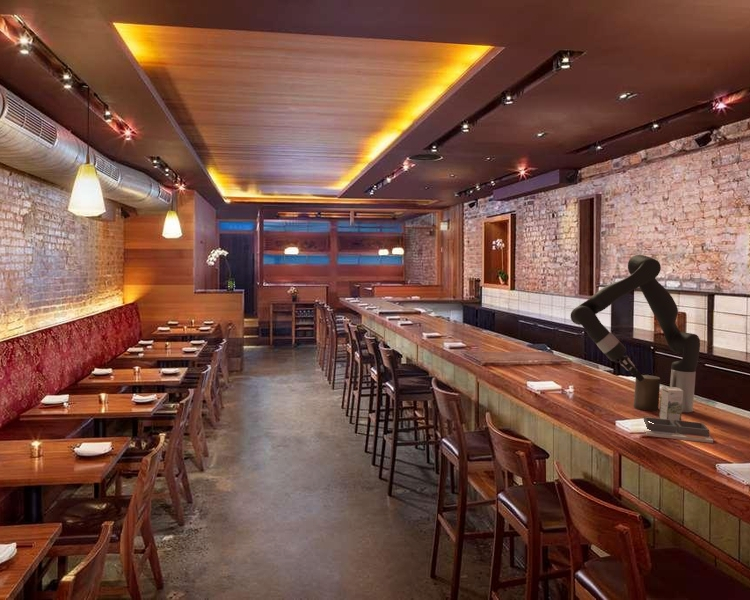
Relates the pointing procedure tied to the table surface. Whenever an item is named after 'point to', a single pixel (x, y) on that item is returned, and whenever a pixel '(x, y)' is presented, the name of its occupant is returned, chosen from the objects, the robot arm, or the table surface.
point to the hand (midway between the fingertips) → (640, 377)
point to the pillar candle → (647, 393)
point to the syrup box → (671, 403)
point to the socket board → (677, 429)
